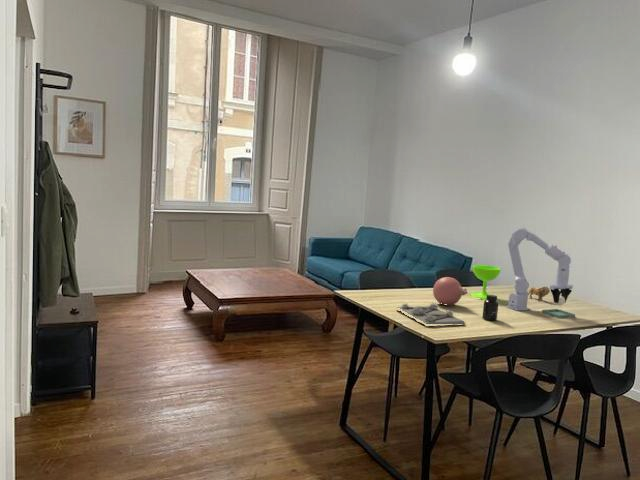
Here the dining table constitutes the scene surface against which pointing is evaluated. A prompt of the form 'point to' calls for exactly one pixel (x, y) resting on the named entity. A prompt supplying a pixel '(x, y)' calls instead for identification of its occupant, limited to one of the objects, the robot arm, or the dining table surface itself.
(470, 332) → the dining table surface
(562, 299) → the ball
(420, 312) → the grey bumpy flat slab
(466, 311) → the dining table surface
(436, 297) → the balloon
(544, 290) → the lion figurine
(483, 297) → the wineglass
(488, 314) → the supplement bottle
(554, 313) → the tray
